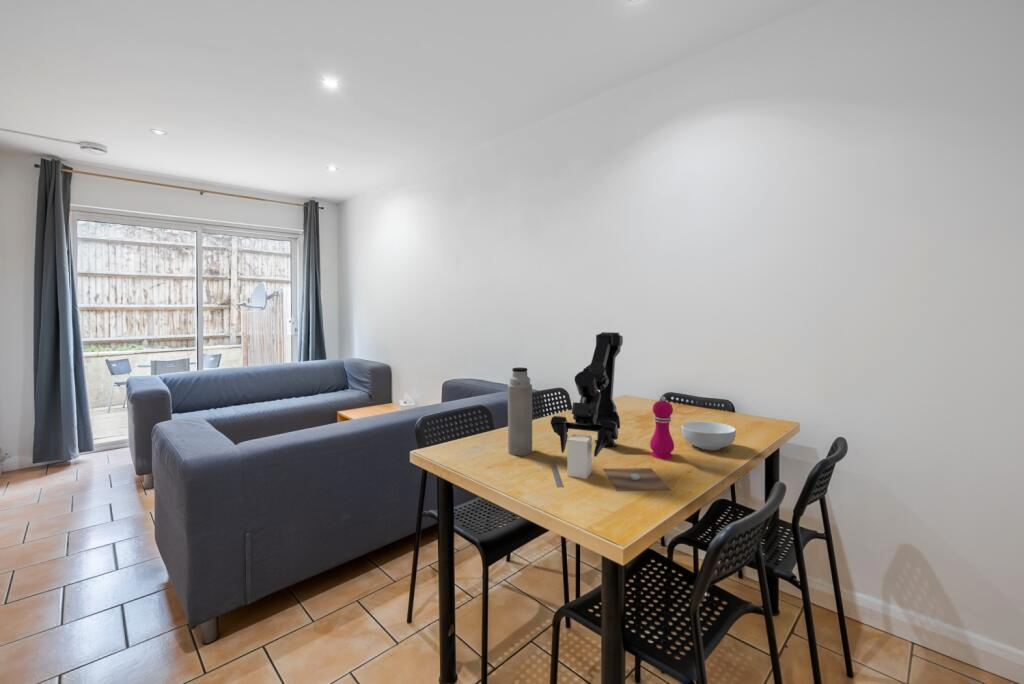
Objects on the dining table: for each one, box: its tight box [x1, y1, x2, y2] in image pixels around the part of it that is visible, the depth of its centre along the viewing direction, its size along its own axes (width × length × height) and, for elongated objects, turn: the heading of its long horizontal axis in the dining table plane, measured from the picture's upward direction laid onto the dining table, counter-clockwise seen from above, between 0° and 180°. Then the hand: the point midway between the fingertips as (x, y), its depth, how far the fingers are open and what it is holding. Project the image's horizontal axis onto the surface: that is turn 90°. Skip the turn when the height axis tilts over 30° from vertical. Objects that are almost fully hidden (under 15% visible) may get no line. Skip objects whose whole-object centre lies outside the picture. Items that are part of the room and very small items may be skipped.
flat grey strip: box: [550, 465, 565, 488], centre depth 128 cm, size 16×13×1 cm
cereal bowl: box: [680, 420, 737, 451], centre depth 155 cm, size 17×17×7 cm
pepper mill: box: [649, 395, 675, 460], centre depth 142 cm, size 7×7×20 cm
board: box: [602, 467, 672, 492], centre depth 123 cm, size 16×14×1 cm
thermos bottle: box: [507, 367, 533, 456], centre depth 149 cm, size 8×8×28 cm
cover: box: [566, 434, 593, 480], centre depth 127 cm, size 5×5×11 cm
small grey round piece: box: [631, 474, 640, 480], centre depth 123 cm, size 2×2×1 cm
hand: (578, 453), depth 125 cm, fingers open, 9 cm apart
